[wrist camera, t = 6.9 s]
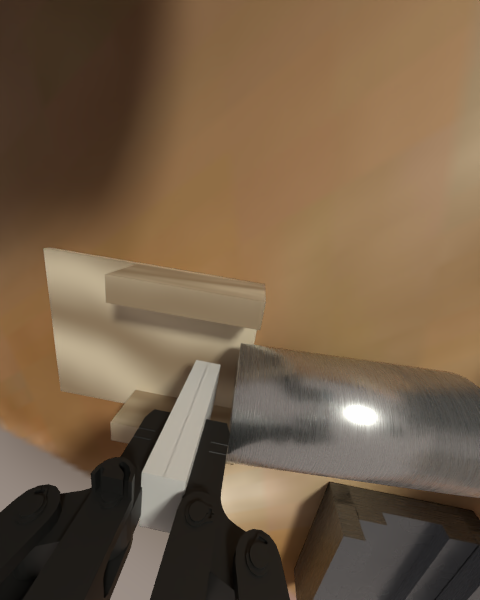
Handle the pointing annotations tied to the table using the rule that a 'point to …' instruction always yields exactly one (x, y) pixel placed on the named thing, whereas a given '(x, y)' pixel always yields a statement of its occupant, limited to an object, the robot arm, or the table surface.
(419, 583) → the v block
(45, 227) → the table surface
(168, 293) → the bracket
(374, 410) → the grey metal cylinder
